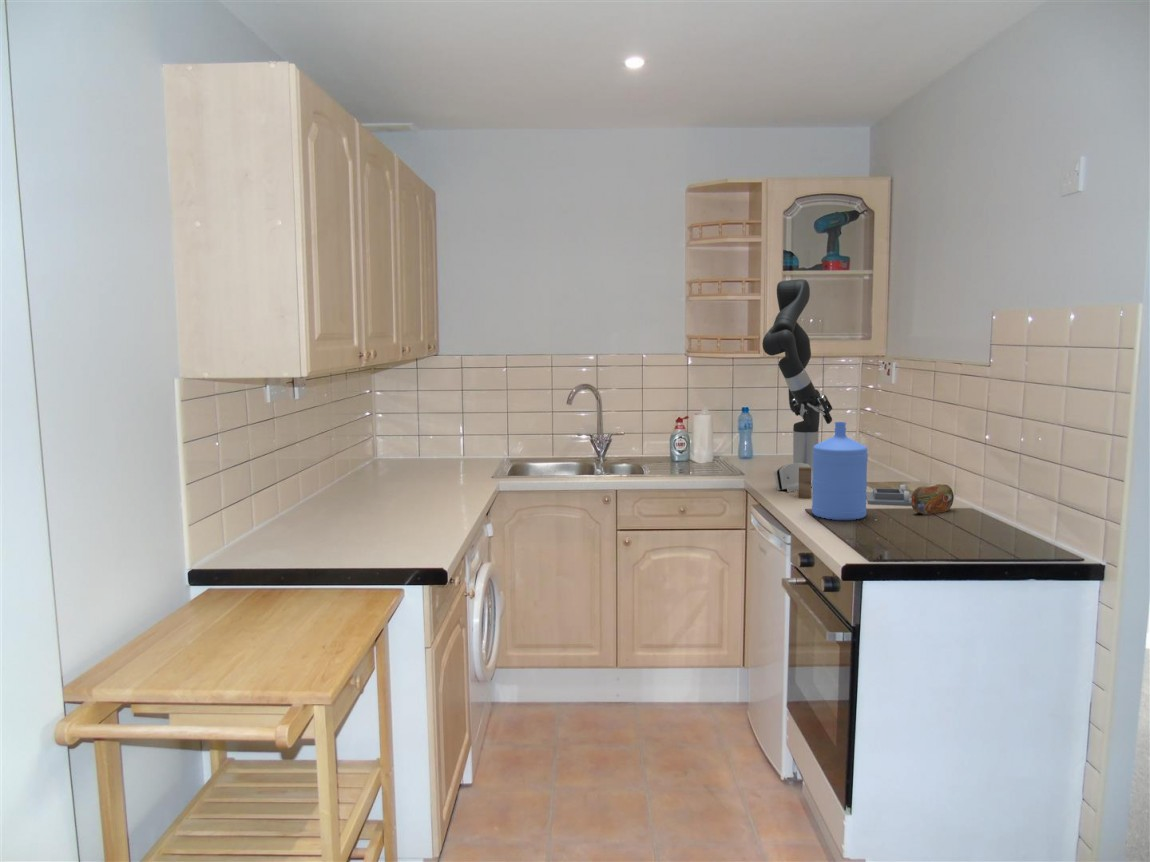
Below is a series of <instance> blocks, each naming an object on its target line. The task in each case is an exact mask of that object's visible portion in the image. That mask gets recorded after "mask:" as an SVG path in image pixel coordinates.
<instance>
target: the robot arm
mask: <svg viewBox="0 0 1150 862" xmlns="http://www.w3.org/2000/svg"><path fill="white" fill-rule="evenodd" d="M810 288H811V287H810V284H809V282H808V281H807V280H806V279H801V278H800V279H790V280H788V279H787V280H781V281H779V282H778V283H777V284H776V297H777V305H778V309H779V310H778V311H779V312H778V313H777V315H776V317H775V319H774V322H773V325H772V326H771V327H770V329H768V331H767V332H766V333H765V335H764V336H763V339H762V343H761V344H762V349H763V351H764V353H765V354H766V355H768V356H771V357H772V356H777V355H781V354H782V353H783V354H784V357H782V358H781V359H779V361H778V368H779V370H780V371H781V374H782V375H783V378H784V380H785V383H786V385H787V387H788V404H789V408H790V411H791V412H792V413H794V414H795V416H800V418H801V417H802V419H803V420H802V421H798V422H795V423H794V424H793V425H792V426H793V428H792V429H793V430H792V431H793V432H792V433H793V435H792V437H793V438H792V439H793V441H792V446H793V447H792V463H805V464H808V465H810V467H811V470H812V472H813V447H814V446H815V445H816V444H818V443H819V438H820V437H819V427H820V414H821V415H822V417H823V419H824V420H825V422H826V424H827V425H829V424H831V423H832V421H833V418H832V415H831V413H830V412H831V411H832V410H833V406H832V404H831V403H830V400H829V399H828V397H827V396H826V395H825V394H822V395H821V393H820V391H819V390H818V389H816V387H815V385H814V384H813V382H812V379H811V378H810V376H809V374H808V372H807V370H806V368H807V366H808V364H809V361H810V360H811V357H812V351H811V348H812V347H811V340H810V338H809V335H808V334H807V332H806V331H805V329H803V328H802V326H801V325H800V324H799V323H798V322H797V321H798V319H799V317H800V315H802V313H803V311H804V310H805V308H806V307H807V305H808V302H809V300H810V296H811V294H810V293H811V291H810V290H811V289H810Z"/></svg>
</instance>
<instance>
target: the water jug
mask: <svg viewBox="0 0 1150 862" xmlns="http://www.w3.org/2000/svg"><path fill="white" fill-rule="evenodd" d="M834 425H835V427H834V435H833V436H832V437H829V438H828V439H825V440H823V441H820V442H818V444H816V445H815V446H814V447H813V479H812V487H813V488H812V498H811V499H812V505H811V512H812V513H811V514H813V515H814V516H815V517H817V518H820V517H821V518H820V519H824V518H826V519H825V520H830V519H832V521H855V520H856V519H857V520H861V519H863V518H865V517H866V516H867V499H866V492H867V490H868V488H867V487H868V480H867V477H868V476H867V473H868V457H869V456H868V454H869V453H868V447H867V445H864V444H862V443H860V442H859V441H856V440H854V439H852V438H850V437H848V436H847V434H846V433H847V432H846V431H847V428H846V425H847V423H846V422H843V421H836V422H834ZM857 520H856V521H857Z"/></svg>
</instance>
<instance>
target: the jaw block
mask: <svg viewBox="0 0 1150 862" xmlns="http://www.w3.org/2000/svg"><path fill="white" fill-rule="evenodd" d="M797 492H798V499H806V498H811V499H812V488H811V467H799V491H797Z"/></svg>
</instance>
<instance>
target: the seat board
mask: <svg viewBox="0 0 1150 862" xmlns="http://www.w3.org/2000/svg"><path fill="white" fill-rule="evenodd" d="M911 499H912V498H910V491H908V490H906V484H900V486H899V488H882V487H873V488H872V491H866V503H867V504H868V505H880V504H881V505H885V506H886V505H887V506H911V507H912V503H911Z"/></svg>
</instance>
